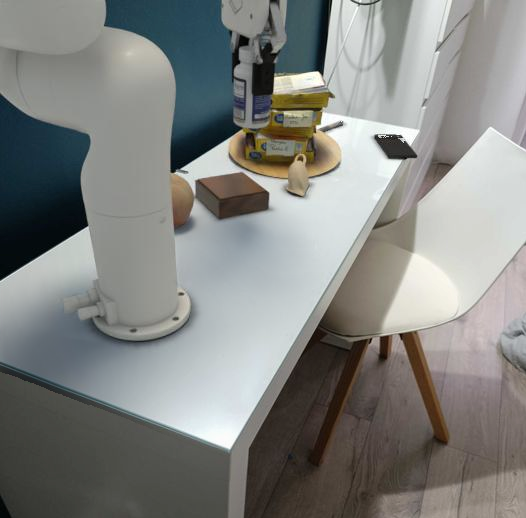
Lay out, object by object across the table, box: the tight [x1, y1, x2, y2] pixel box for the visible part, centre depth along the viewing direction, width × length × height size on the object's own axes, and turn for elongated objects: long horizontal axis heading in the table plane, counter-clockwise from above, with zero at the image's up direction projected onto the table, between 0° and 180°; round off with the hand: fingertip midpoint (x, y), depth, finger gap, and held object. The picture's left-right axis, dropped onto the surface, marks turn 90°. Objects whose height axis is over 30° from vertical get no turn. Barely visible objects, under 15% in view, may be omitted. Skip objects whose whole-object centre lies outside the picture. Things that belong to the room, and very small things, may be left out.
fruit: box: [170, 172, 195, 228], centre depth 83 cm, size 8×8×8 cm
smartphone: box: [373, 133, 418, 159], centre depth 121 cm, size 7×1×15 cm
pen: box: [317, 120, 345, 133], centre depth 129 cm, size 1×14×1 cm
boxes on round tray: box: [228, 71, 342, 179], centre depth 107 cm, size 25×25×17 cm
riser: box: [194, 171, 270, 220], centre depth 91 cm, size 10×10×4 cm
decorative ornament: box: [285, 154, 310, 197], centre depth 98 cm, size 4×8×5 cm, turn 164°
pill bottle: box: [232, 45, 271, 128], centre depth 72 cm, size 5×5×10 cm
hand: (252, 87), depth 71 cm, fingers closed on pill bottle, 5 cm apart
